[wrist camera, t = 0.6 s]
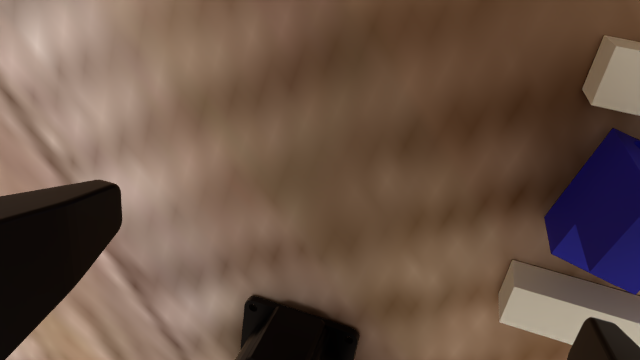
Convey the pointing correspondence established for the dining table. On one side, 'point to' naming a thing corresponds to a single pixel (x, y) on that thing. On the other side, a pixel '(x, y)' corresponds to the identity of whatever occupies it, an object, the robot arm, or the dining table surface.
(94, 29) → the dining table surface
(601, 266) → the cable clip
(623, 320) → the guide channel
